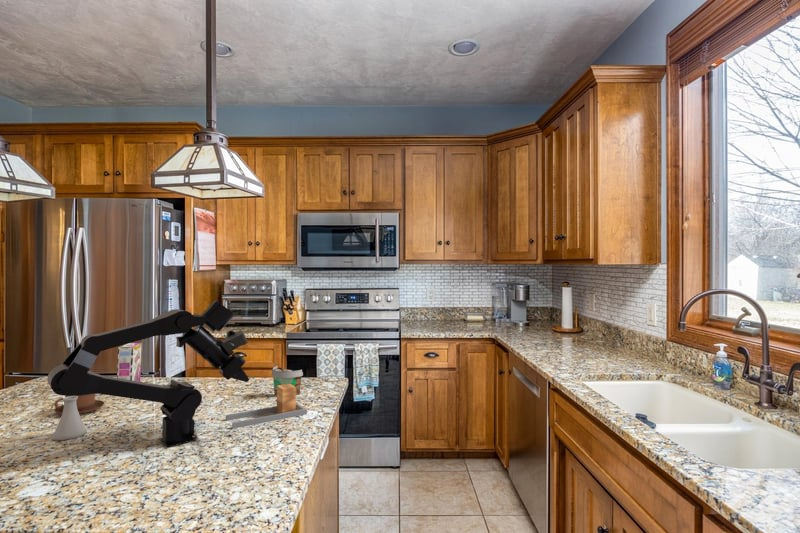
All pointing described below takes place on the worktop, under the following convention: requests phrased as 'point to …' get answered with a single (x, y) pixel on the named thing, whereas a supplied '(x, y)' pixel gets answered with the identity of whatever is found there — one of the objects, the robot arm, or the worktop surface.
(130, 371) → the candy bar box
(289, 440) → the worktop surface
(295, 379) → the food container
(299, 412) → the channel board
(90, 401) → the cup and saucer
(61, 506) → the worktop surface
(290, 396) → the orange block
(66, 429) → the flask
